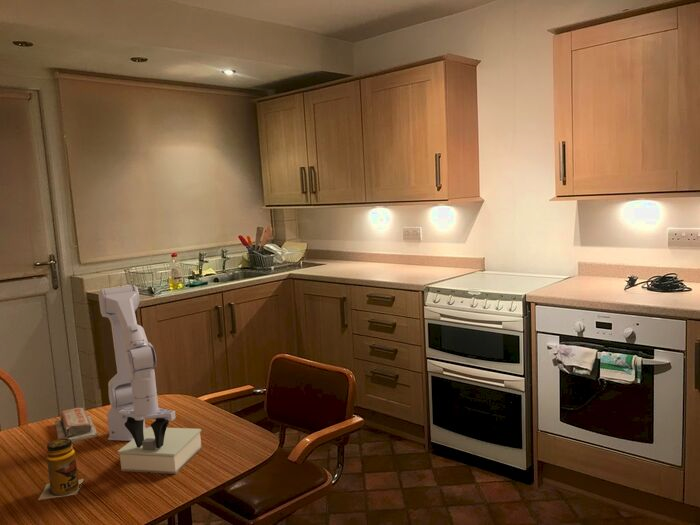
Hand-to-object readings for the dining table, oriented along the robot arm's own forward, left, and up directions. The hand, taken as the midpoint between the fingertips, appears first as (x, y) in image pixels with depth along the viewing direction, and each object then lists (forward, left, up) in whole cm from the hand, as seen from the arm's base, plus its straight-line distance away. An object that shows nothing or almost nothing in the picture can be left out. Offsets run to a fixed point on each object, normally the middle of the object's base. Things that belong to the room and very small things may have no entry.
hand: (150, 446), depth 145 cm
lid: (0, +5, -1) cm, 5 cm away
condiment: (-17, -12, -6) cm, 22 cm away
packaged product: (-37, +20, -7) cm, 43 cm away
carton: (0, +5, -6) cm, 8 cm away
